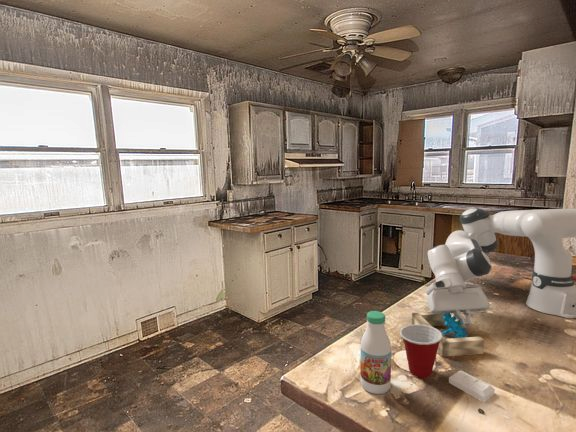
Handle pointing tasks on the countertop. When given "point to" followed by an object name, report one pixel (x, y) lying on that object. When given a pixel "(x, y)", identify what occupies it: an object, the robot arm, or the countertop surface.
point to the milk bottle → (375, 355)
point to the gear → (454, 326)
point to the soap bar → (472, 385)
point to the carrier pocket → (454, 344)
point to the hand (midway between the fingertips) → (466, 324)
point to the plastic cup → (421, 348)
